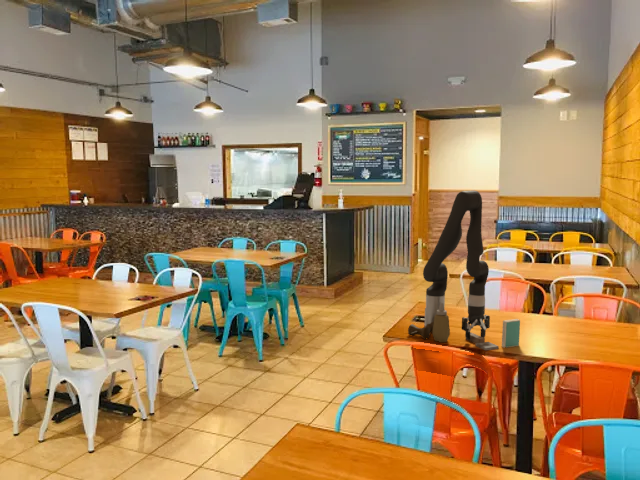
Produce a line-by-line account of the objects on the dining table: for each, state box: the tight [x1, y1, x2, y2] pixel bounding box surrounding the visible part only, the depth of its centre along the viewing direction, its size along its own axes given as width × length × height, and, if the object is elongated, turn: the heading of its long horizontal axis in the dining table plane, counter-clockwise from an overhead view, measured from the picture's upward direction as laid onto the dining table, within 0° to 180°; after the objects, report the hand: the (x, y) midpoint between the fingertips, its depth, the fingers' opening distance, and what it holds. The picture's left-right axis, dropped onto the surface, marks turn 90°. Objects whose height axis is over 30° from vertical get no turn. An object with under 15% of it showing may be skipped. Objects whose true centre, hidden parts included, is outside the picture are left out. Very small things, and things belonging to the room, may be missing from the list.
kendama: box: [407, 322, 434, 340], centre depth 261 cm, size 6×10×20 cm
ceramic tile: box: [501, 318, 521, 348], centre depth 244 cm, size 2×8×12 cm, turn 111°
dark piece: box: [466, 332, 500, 351], centre depth 247 cm, size 17×7×3 cm, turn 21°
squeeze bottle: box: [431, 303, 451, 343], centre depth 251 cm, size 8×8×18 cm
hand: (475, 338), depth 250 cm, fingers open, 7 cm apart
